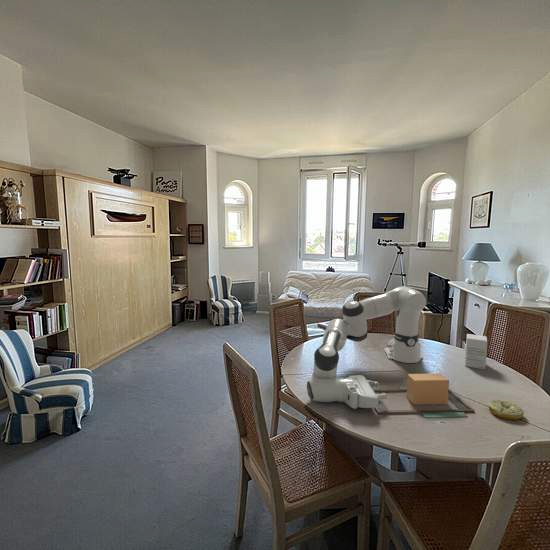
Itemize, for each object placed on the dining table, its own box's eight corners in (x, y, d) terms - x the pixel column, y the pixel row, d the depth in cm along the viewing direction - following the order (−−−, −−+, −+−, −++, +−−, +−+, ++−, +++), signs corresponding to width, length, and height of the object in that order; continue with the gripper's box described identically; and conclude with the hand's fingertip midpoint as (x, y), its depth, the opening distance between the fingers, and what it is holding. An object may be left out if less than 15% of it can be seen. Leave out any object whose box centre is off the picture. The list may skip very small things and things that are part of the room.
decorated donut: (481, 406, 126) (482, 397, 125) (510, 406, 125) (510, 397, 125) (499, 421, 116) (499, 411, 115) (529, 422, 115) (530, 412, 115)
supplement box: (464, 360, 172) (466, 333, 170) (484, 363, 167) (486, 335, 165) (464, 366, 164) (466, 338, 162) (485, 369, 159) (487, 340, 158)
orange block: (406, 396, 133) (407, 374, 132) (439, 396, 134) (440, 373, 132) (413, 404, 127) (414, 380, 126) (447, 403, 128) (449, 380, 126)
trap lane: (361, 387, 141) (361, 386, 141) (444, 386, 142) (444, 384, 142) (380, 418, 117) (380, 416, 117) (479, 416, 118) (479, 414, 118)
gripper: (341, 385, 139) (373, 385, 139) (354, 411, 119) (391, 411, 119) (342, 371, 138) (374, 371, 138) (354, 395, 118) (392, 395, 118)
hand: (382, 389), depth 128 cm, fingers open, 8 cm apart
